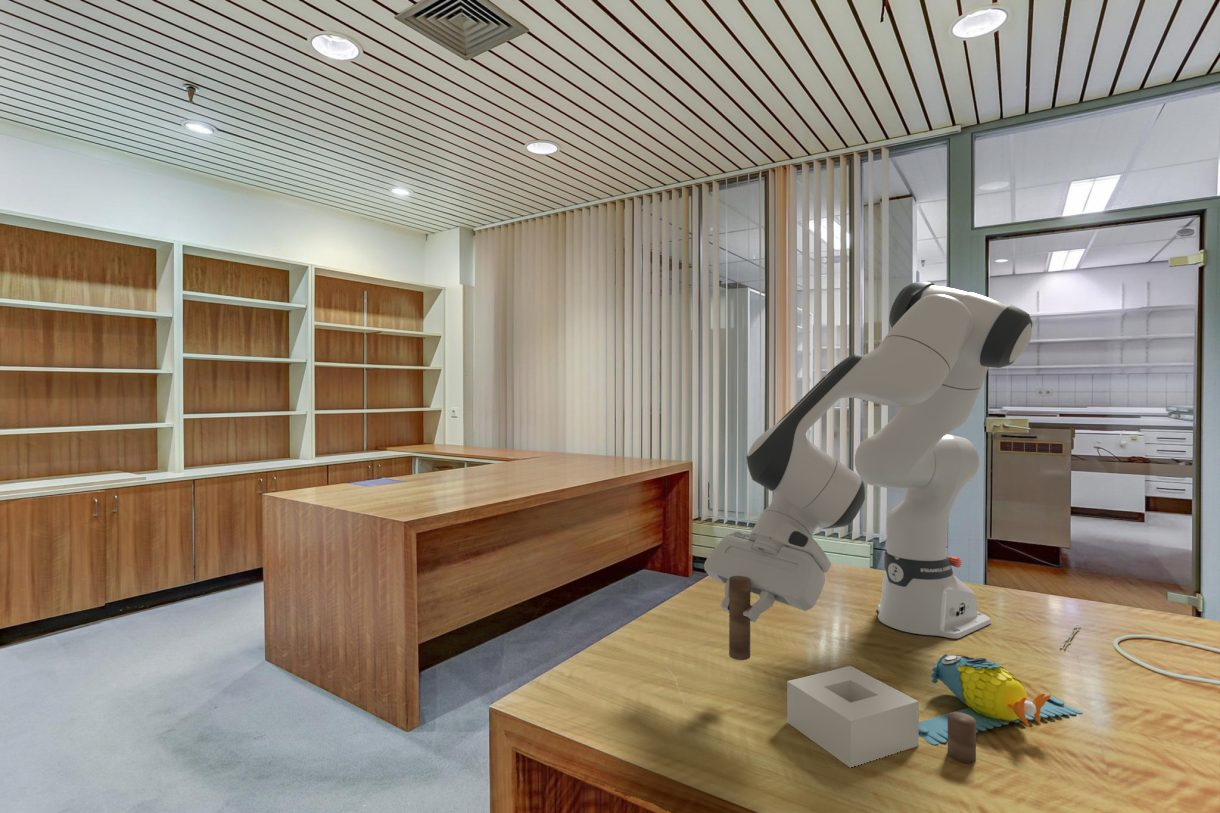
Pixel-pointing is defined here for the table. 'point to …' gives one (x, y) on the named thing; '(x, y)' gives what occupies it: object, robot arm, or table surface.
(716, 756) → the table surface
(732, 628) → the long pin
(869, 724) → the hole block
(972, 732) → the short pin
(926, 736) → the blue yellow bird figure
